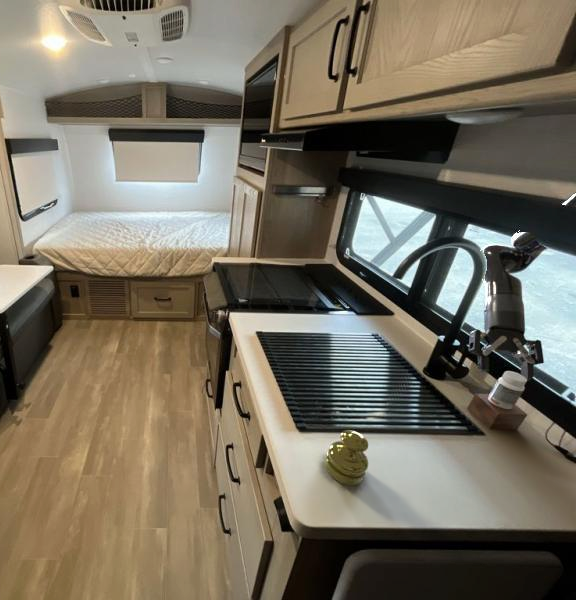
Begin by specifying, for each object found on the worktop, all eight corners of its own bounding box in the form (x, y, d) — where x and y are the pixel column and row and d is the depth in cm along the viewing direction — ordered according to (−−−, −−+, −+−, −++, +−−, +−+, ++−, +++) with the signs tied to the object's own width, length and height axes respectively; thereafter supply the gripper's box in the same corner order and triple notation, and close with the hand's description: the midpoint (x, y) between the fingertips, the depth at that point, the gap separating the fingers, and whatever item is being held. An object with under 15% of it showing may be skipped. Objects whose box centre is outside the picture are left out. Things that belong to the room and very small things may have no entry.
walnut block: (517, 429, 82) (527, 414, 79) (489, 428, 82) (498, 413, 79) (493, 408, 88) (502, 394, 86) (467, 407, 88) (475, 393, 86)
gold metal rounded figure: (317, 455, 73) (328, 422, 68) (349, 453, 74) (362, 420, 69) (335, 487, 66) (348, 453, 62) (370, 485, 67) (385, 450, 63)
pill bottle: (516, 411, 80) (534, 384, 76) (493, 407, 81) (509, 380, 78) (505, 398, 84) (522, 372, 80) (483, 394, 85) (499, 368, 82)
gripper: (480, 305, 86) (480, 366, 81) (549, 315, 82) (554, 380, 77) (463, 313, 93) (462, 371, 88) (526, 323, 89) (529, 384, 84)
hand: (505, 375), depth 83 cm, fingers open, 8 cm apart
